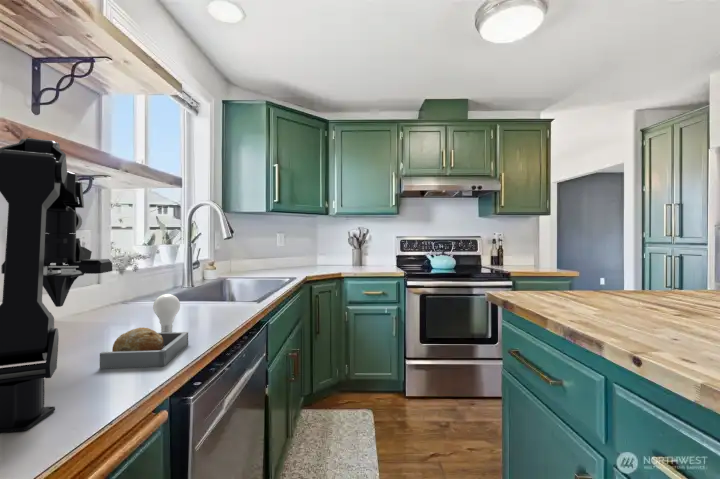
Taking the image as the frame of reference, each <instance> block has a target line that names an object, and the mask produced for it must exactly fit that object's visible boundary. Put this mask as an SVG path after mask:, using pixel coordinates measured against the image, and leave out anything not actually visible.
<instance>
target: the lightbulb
mask: <svg viewBox="0 0 720 479" xmlns="http://www.w3.org/2000/svg"><path fill="white" fill-rule="evenodd" d="M180 309H181V302H180V300H179V298H178V297H177V296H176V295H174V294H172V293H164V294H161V295H160V296H158V297H157V298H156V299H154V302H153V304H152V310H153V312H154V314H155V316H156V317H157V318H158V320H159V323H160V333H167V332H173V323H174V320H175V318H176V316H177V314H178V313H179V311H180Z"/></svg>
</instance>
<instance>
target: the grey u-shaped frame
mask: <svg viewBox="0 0 720 479" xmlns="http://www.w3.org/2000/svg"><path fill="white" fill-rule="evenodd" d="M157 333H158V334H160V335H161V336H162V338H163V342H164V346H163V349H162V350H153V351H118V352H112V351H102V352H100V353H99V369H100V368H103V369H128V368H155V367H156V368H157V367H160V368H161V367H165V366H166V365H168V364H169V363H170V362H171V361H172V360H173V359H174V358H175V357H176V356H177V355H178V354H179V353H181V352H182V351H183V350H184V349H185V348H186V347H187V346H188V345H189V331H179V332H176V331H175V332H173V331H172V332H167V333H161V332H157Z"/></svg>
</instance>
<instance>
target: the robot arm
mask: <svg viewBox="0 0 720 479" xmlns="http://www.w3.org/2000/svg"><path fill="white" fill-rule="evenodd" d="M67 166H68V165H67V154H66V153H65V151H64V152H63V150H61V146H60V143H59V142H55V141H54V140H49V139H39V138H29V137H26V138H25V139H24V138H21V139H20V140H19V142H16V143H13V144H10V145H6V146H2V147H0V194H1V195H2V196H3V198H4V200H5V201H6V202H7V204H8V206H7V208H8V209H7V225H6V226H7V227H6V241H5V256H4V257H5V258H4V261H3V263H2V264H1V265H0V266H1V267H0V269H1V270H0V271H1V273H0V274H2V275H3V290H2V302H1V303H0V433H6V432H7V433H8V432H22V431H26V430H29V429H30V428H32V426H34V425H36V424H37V423H39V422H40V421H42V420H43V419H45V418H46V417H47V416H49V415H50V414H51V413H53V412H54V411H56V406H45V379H50V378H52V377H53V375H54V374H55V371H56V370H57V368H58V355H59V354H58V353H59V342H60V341H59V335H60V334H59V329H58V328H55V317H54V316H53V314H52V312H51V311H49V310H48V308H47V306H46V305H45V304H44V303H43V289H44V290H45V291H46V293H47V295H48V296H49V298H50V300H51V301H52V302H53V305H54V306H55V307H57V308H59V307H63V306H64V304H65V301H66V299H67V298H68V297H67V296H68V295H69V292H70V290H71V288H72V285H74V282H75V281H76V280H77V279H78V278H79V277H81V276H84V275H85V274H87V275H88V274H89V275H90V274H93V275H94V274H104V273H105V274H106V273H109V272H113V263H112V261H111V259H110V258H91V257H92V252H93V251H91V250H90V249H88V248H87V247H85V246H82V245H81V239H80V238H79V237H78V238H77V231H79V229H80V228H81V227H82V226H83V218H82V217H81V216H82V215H80V213H78V212H77V209H84V208H85V201H84V190H83V188H84V187H83V182H82V181H79V177H78V176H77V175H76V173H74V172H71V171H68V167H67ZM59 271H60V272H59ZM39 362H40V363H39ZM5 366H6V367H5Z"/></svg>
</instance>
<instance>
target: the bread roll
mask: <svg viewBox="0 0 720 479" xmlns="http://www.w3.org/2000/svg"><path fill="white" fill-rule="evenodd" d="M158 333H159V332H157V331H155V330H153V329H152V328H148V327H137V328H133V329H130V330H128V331H126V332H125V333H121V334H120V335H119V337H117V338H116V340H115V341H114V343H113V344H112V351H111V352H118V351H153V350H162V349H163V348H164V347H165V346H164V342H163V338H162V336H161V335H160V334H158Z"/></svg>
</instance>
